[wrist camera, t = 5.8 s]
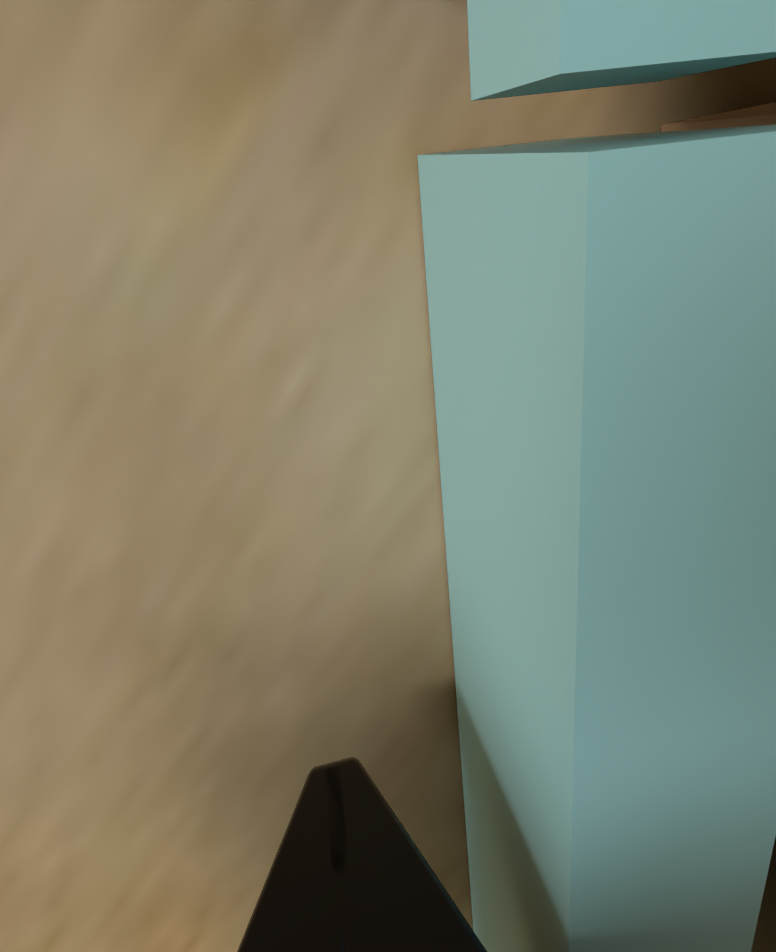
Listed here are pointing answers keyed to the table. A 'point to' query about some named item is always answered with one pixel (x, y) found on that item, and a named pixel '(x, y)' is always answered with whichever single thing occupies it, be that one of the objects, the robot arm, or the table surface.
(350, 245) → the table surface
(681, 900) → the bar
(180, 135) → the table surface
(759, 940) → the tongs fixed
